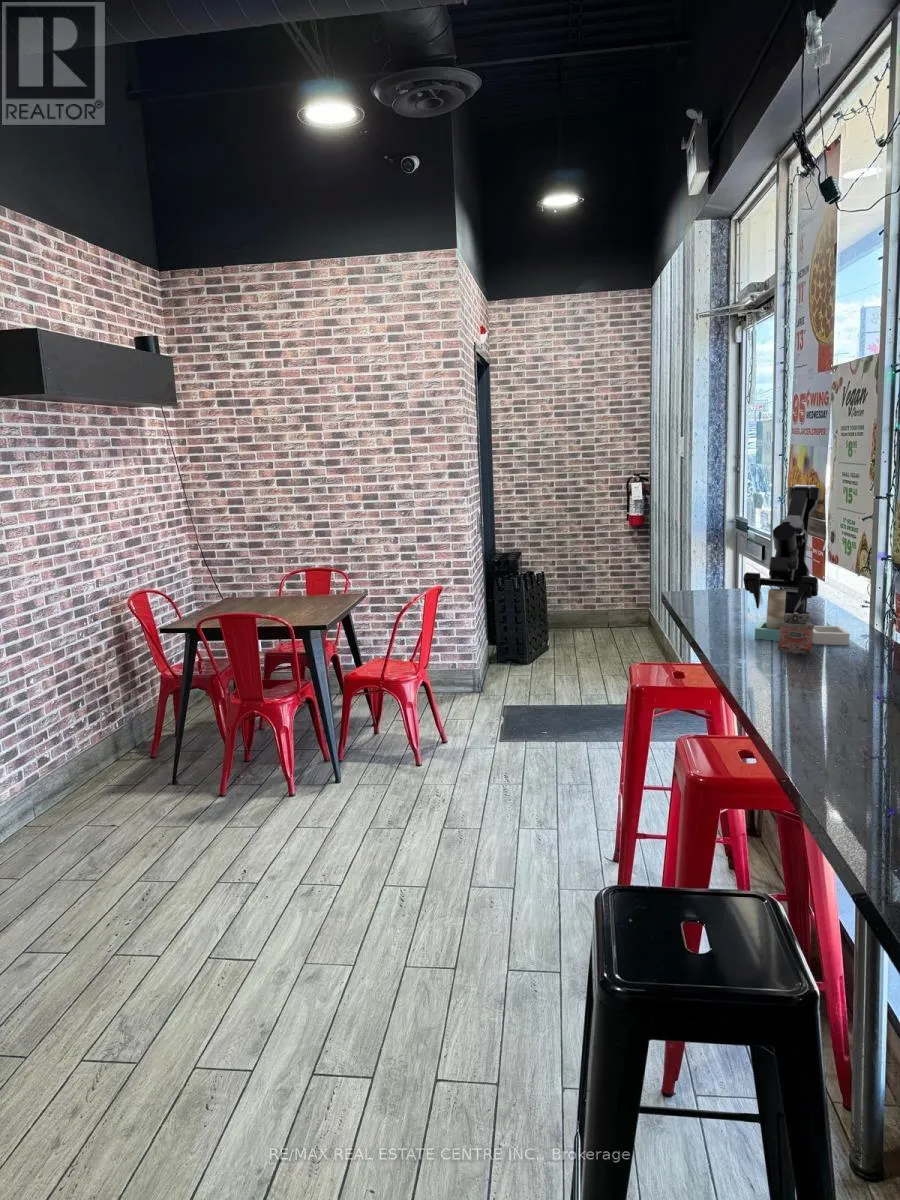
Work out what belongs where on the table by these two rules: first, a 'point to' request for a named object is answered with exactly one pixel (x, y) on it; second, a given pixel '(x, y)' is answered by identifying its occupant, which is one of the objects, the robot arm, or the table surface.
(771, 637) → the teal socket
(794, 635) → the lighter
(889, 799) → the table surface
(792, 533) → the robot arm
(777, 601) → the peg
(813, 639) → the grey socket
